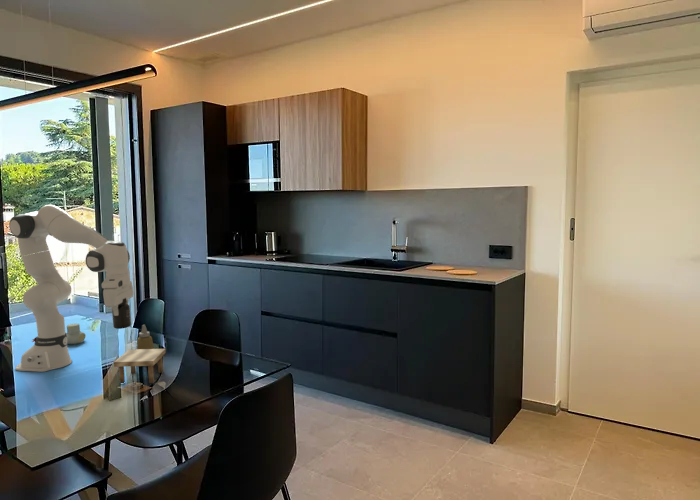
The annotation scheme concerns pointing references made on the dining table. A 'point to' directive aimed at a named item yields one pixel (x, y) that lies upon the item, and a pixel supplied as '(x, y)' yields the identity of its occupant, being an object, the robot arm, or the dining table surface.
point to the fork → (161, 384)
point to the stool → (140, 361)
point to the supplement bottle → (122, 316)
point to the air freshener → (74, 334)
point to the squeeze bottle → (144, 339)
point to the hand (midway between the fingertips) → (121, 312)
